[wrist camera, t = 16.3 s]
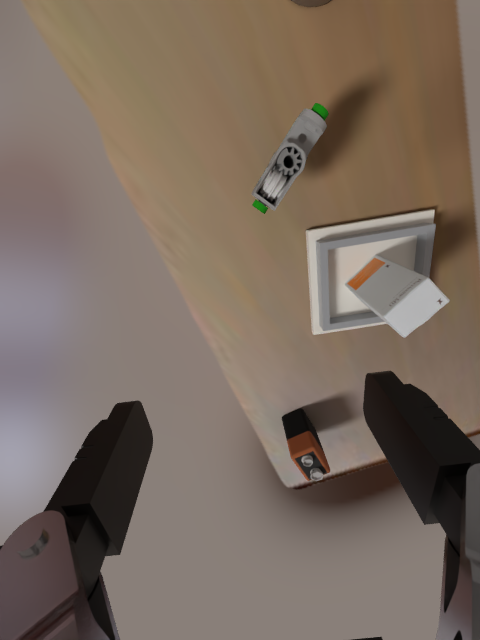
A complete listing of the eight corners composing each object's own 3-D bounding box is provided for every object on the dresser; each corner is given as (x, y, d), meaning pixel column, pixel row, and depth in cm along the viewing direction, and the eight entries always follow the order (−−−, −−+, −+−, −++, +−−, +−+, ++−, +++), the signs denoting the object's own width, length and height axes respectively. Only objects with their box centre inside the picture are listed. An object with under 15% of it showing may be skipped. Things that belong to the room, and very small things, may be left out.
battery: (295, 439, 55) (309, 487, 46) (280, 416, 52) (291, 462, 43) (316, 430, 54) (333, 477, 45) (301, 406, 52) (317, 451, 42)
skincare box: (375, 253, 39) (430, 275, 29) (393, 272, 41) (453, 301, 30) (342, 284, 41) (382, 317, 30) (360, 302, 42) (405, 339, 32)
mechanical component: (308, 137, 34) (337, 117, 25) (261, 212, 38) (271, 218, 29) (289, 121, 34) (311, 94, 25) (242, 199, 37) (247, 201, 28)
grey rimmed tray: (305, 230, 39) (311, 232, 36) (429, 209, 38) (445, 210, 36) (311, 332, 45) (317, 340, 43) (418, 315, 45) (430, 323, 42)
